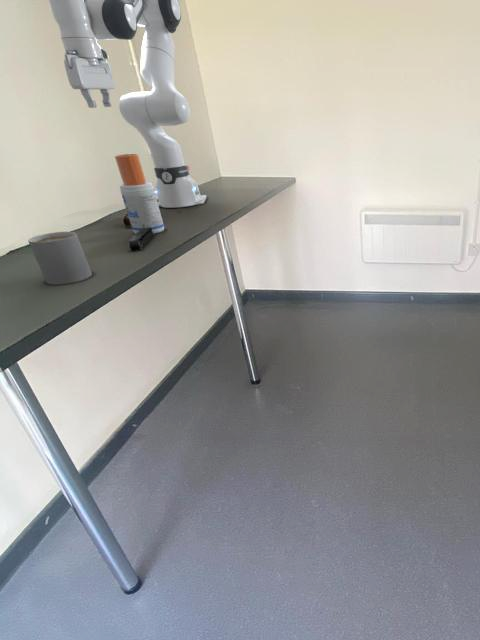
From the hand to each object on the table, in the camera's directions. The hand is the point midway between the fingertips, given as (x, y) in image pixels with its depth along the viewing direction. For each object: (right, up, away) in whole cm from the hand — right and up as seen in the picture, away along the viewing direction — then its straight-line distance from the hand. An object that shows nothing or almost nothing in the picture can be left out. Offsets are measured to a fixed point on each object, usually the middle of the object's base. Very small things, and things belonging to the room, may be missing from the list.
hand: (100, 107), depth 147 cm
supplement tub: (+9, -35, +11) cm, 38 cm away
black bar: (+14, -42, -1) cm, 45 cm away
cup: (+9, -22, +3) cm, 24 cm away
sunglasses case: (0, -26, +25) cm, 36 cm away
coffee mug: (+9, -59, -26) cm, 65 cm away
